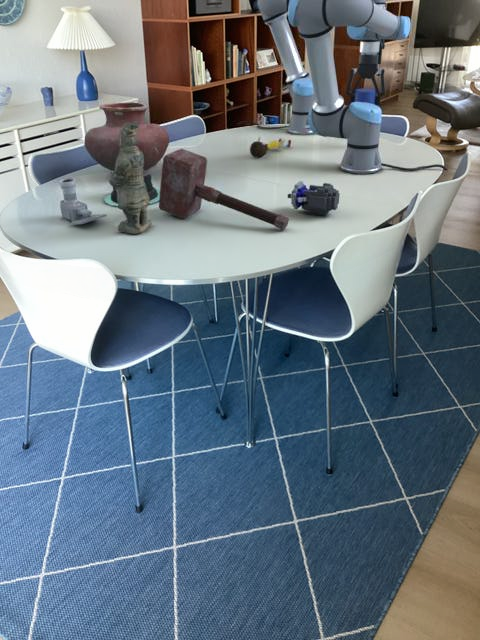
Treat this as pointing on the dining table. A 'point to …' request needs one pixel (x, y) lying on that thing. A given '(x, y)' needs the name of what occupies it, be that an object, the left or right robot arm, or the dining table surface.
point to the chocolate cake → (152, 192)
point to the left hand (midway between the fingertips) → (371, 65)
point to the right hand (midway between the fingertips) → (364, 112)
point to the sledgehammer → (200, 190)
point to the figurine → (266, 147)
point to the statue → (131, 182)
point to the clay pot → (105, 138)
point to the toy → (315, 198)
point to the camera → (74, 204)
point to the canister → (365, 95)
